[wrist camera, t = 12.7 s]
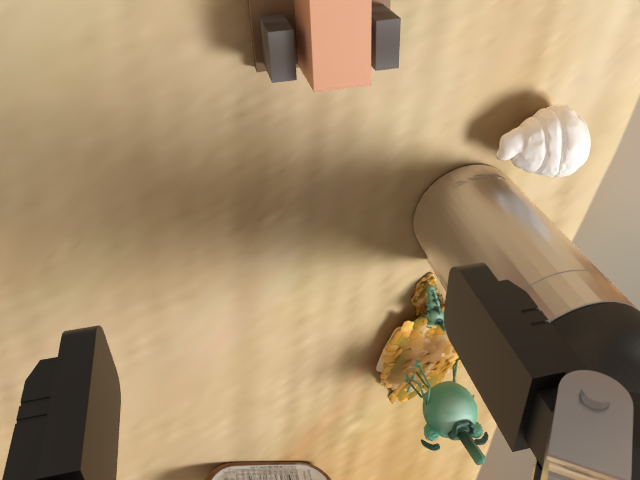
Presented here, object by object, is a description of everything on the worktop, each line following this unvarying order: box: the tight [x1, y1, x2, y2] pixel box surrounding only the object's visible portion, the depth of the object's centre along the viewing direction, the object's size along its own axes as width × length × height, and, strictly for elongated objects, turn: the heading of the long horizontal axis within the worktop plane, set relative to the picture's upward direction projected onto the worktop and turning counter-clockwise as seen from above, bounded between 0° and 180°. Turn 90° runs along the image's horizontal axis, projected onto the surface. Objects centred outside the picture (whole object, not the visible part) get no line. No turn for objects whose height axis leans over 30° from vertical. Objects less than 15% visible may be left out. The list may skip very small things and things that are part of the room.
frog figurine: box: [376, 273, 488, 465], centre depth 55 cm, size 10×18×15 cm, turn 167°
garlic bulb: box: [496, 105, 590, 177], centre depth 45 cm, size 6×6×5 cm
